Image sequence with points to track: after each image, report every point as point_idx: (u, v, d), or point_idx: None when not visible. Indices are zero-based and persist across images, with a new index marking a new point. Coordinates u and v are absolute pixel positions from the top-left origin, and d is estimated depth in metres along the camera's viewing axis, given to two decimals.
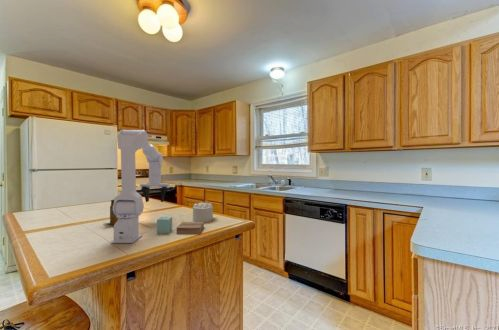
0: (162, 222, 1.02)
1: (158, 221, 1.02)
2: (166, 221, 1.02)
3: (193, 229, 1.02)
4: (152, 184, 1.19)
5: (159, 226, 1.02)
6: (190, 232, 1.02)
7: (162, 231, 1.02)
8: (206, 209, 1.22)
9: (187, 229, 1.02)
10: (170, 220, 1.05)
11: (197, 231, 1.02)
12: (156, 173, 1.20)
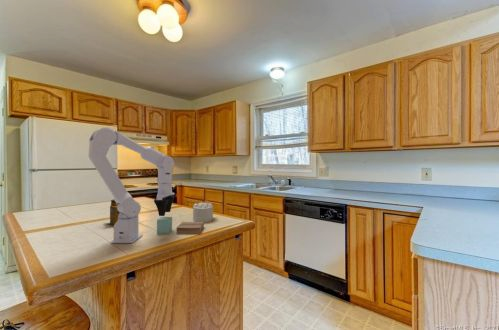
0: (162, 222, 1.02)
1: (158, 221, 1.02)
2: (166, 221, 1.02)
3: (193, 229, 1.02)
4: None
5: (159, 226, 1.02)
6: (190, 232, 1.02)
7: (162, 231, 1.02)
8: (206, 209, 1.22)
9: (187, 229, 1.02)
10: (170, 220, 1.05)
11: (197, 231, 1.02)
12: (161, 181, 1.02)
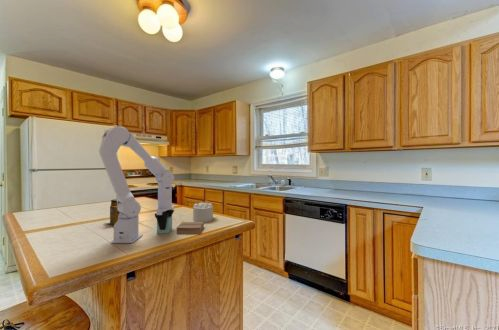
0: None
1: None
2: None
3: (193, 229, 1.02)
4: None
5: None
6: (190, 232, 1.02)
7: (162, 231, 1.02)
8: (206, 209, 1.22)
9: (187, 229, 1.02)
10: (170, 220, 1.05)
11: (197, 231, 1.02)
12: (161, 195, 1.02)
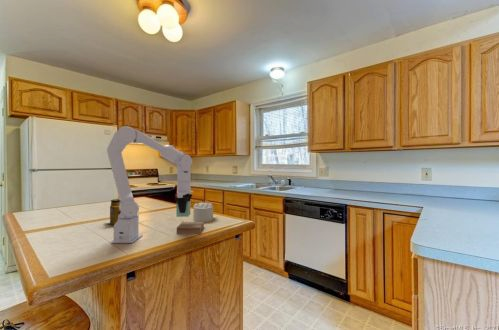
0: None
1: (177, 205, 1.04)
2: None
3: (193, 229, 1.02)
4: None
5: None
6: (190, 232, 1.02)
7: (181, 214, 1.04)
8: (207, 209, 1.22)
9: (187, 229, 1.02)
10: (189, 204, 1.06)
11: (197, 231, 1.02)
12: (179, 179, 1.04)
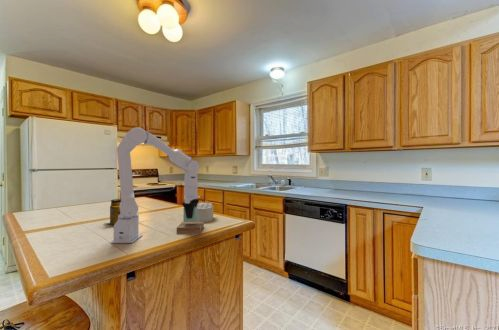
0: None
1: (184, 210, 1.04)
2: None
3: (193, 229, 1.02)
4: None
5: None
6: (190, 232, 1.02)
7: (188, 220, 1.05)
8: (207, 209, 1.22)
9: (187, 229, 1.02)
10: (196, 209, 1.07)
11: (197, 231, 1.02)
12: (186, 184, 1.04)
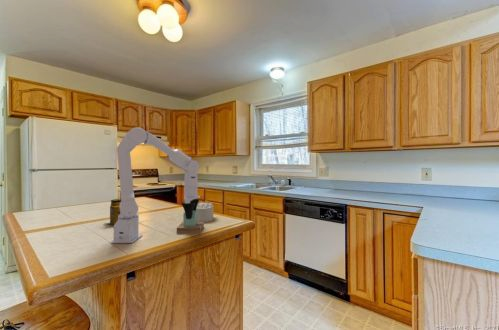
0: None
1: (184, 214, 1.05)
2: (192, 214, 1.05)
3: (193, 229, 1.02)
4: None
5: (186, 219, 1.05)
6: (190, 232, 1.02)
7: (188, 224, 1.05)
8: (207, 209, 1.22)
9: (187, 229, 1.02)
10: (196, 213, 1.07)
11: (197, 231, 1.02)
12: (187, 184, 1.04)
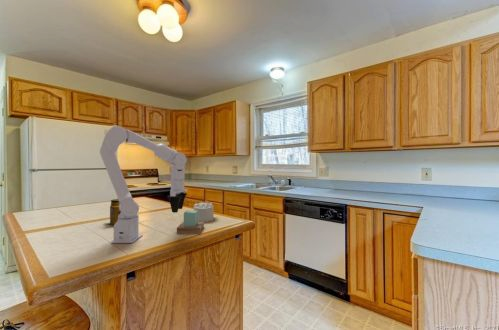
0: (188, 215, 1.04)
1: (185, 214, 1.05)
2: (192, 214, 1.04)
3: (193, 229, 1.02)
4: None
5: (186, 219, 1.05)
6: (190, 232, 1.02)
7: (188, 224, 1.05)
8: (207, 209, 1.22)
9: (187, 229, 1.02)
10: (196, 214, 1.07)
11: (197, 231, 1.02)
12: (173, 177, 1.02)
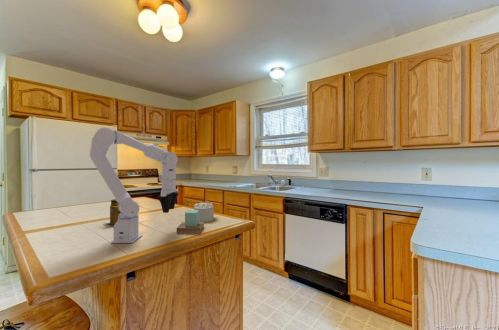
0: (190, 215, 1.04)
1: (186, 214, 1.04)
2: (194, 214, 1.04)
3: (193, 229, 1.02)
4: None
5: (187, 219, 1.05)
6: (190, 232, 1.02)
7: (190, 224, 1.05)
8: (207, 209, 1.22)
9: (187, 229, 1.02)
10: (197, 213, 1.07)
11: (197, 231, 1.02)
12: (164, 177, 1.01)
